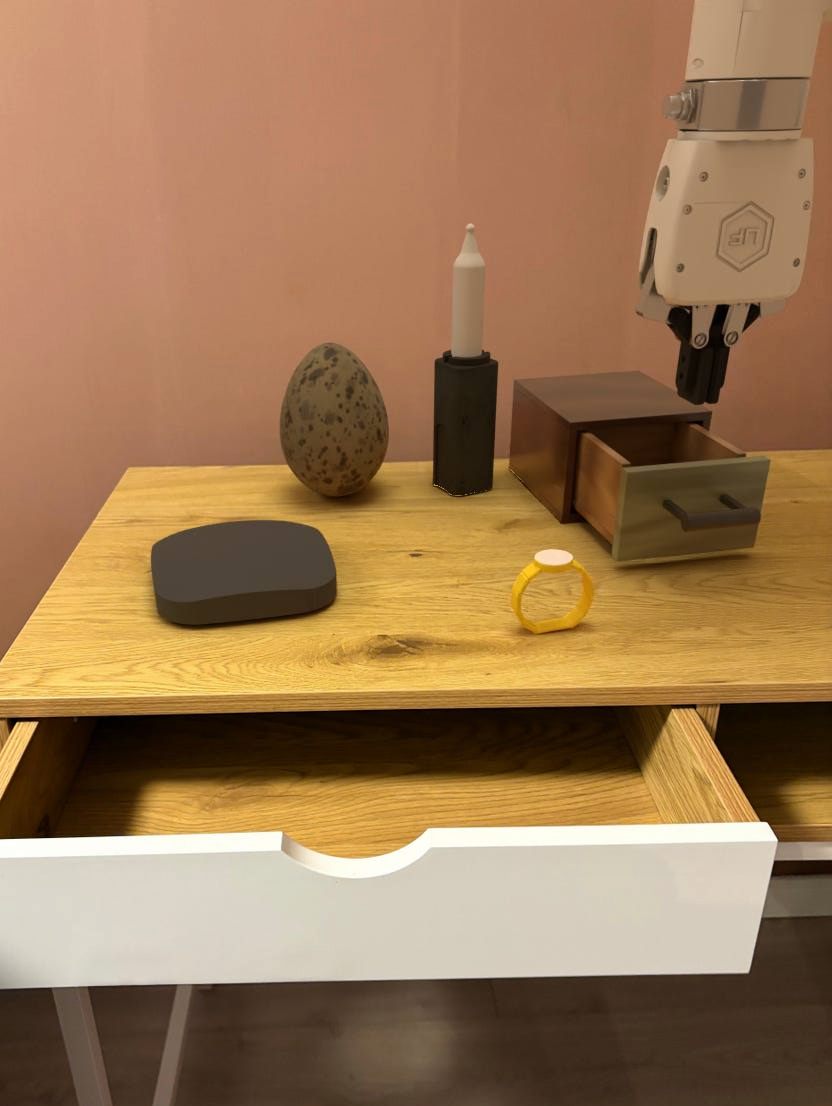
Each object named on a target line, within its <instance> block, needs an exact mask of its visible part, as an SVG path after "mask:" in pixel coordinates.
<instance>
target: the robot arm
mask: <svg viewBox="0 0 832 1106" xmlns="http://www.w3.org/2000/svg"><path fill="white" fill-rule="evenodd" d="M826 23H827V24H829V23H832V0H694V5H693V12H692V20H691V28H690V34H689V35H690V36H689V42H688V43H689V44H688V52H687V61H686V67H685V73H684V82H681V84H680V90H679V91H678V92H676V93H674V94H673V93H672V94H666V95H665V96H664V98H663V101H662V105H661V115H662V117H663V119H673V120H674V121H676V123H675V129H676V130H677V129H678V130H677V133H676V138H669V139H668V140H667V142H666V145H665V148H664V151H663V154H662V158H661V160H660V163H659V165H658V170H657V173H656V177H655V181H654V185H653V189H652V192H651V195H650V196H651V197H650V201H649V205H648V208H647V214H646V219H645V225H644V229H643V235H642V243H641V249H640V255H639V265H638V275H637V276H638V277H637V278H638V286H639V289H640V294H639V297H638V299H637V303H636V306H635V314H636V315H637V316H639V317H641V318H643V319H646V320H650V321H654V322H659V323H662V324H665V325H666V326H667V327H668V329H670V331H671V332H672V333H673V334H674V338H675V340H677V341H679V342H680V345H679V351H678V358H677V366H676V373H675V381H674V382H675V384H674V385H675V388H676V389H677V391H676V392H677V393H678V396H680V397H681V398H683V399H685V400H687V401H689V402H690V403H692V404H694V405H702V406H703V405H704V404H708V405H715V404H718V402H719V399H720V394H721V389H722V388H723V387H724V385H725V381H726V374H727V368H728V364H729V358H730V352H731V348H732V347H735V346H736V345H738V343H739V342H740V339H741V336H742V334H743V333H744V332H745V331H746V330H747V329H748V328H749V327H750V326H751V325H752V324H753V323H754V322H755V321H756V320H757V319H762V318H766V317H769V316H771V315H775V314H778V313H780V312H782V311H784V310H785V309H786V307H787V304H788V298H789V297H790V296H792V295H793V294H795V293H796V292H797V290H798V289H799V288H800V285H801V282H802V277H803V273H804V269H805V263H806V257H807V252H808V243H809V238H810V229H811V221H812V220H811V219H812V210H813V199H814V181H815V178H814V176H815V164H814V163H815V159H814V156H815V155H814V154H815V153H814V138H813V137H812V136H810V137H809V136H802V133H803V129H802V128H803V126H804V121H805V116H806V109H807V105H808V99H809V93H810V88H811V83H812V79H811V78H812V77H813V69H814V65H815V59H816V54H817V49H818V43H819V37H820V32H821V25H822V24H826ZM666 301H667V302H669V303H667V302H666ZM711 305H712V306H711ZM710 306H711V309H710Z"/></svg>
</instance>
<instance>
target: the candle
mask: <svg viewBox="0 0 832 1106" xmlns="http://www.w3.org/2000/svg"><path fill="white" fill-rule="evenodd" d="M475 230H476V226H475V224H473V223H468V224H467V225H466V226H465V231H466V234H465V237H464V240H463V243H462V247H461V250H460V253H459V254H458V256H457V257H456V259H455V260H454V262H453V266H452V268H453V269H452V305H451V307H452V308H451V348H450V349H447V350H445V351H443V352H442V357H438V358H437V357H436V359H434V369H433V371H434V373H433V374H434V375H433V376H434V378H433V432H432V433H433V435H432V436H433V439H432V440H433V441H432V442H433V444H432V445H433V447H432V485H433V484H435V485H438V486H440V487H442V488H444V489H445V490H447V491H448V493H450V494H452V495H465V494H470V493H474V492H475V493H476V492H480V491H485V490H489V489H491V488H492V487H493V488H494V467H495V466H494V465H495V444H496V442H495V441H496V422H497V402H498V379H499V361H498V360H496V359H494V358H491V352H490V351H485V349H483V337H484V336H483V332H484V329H483V328H484V309H485V307H484V306H485V285H486V284H485V283H486V281H485V280H486V277H485V276H486V262H485V260H484V258H483V257H482V255H481V253H480V252H479V248H478V243H477V239H476V235H475ZM493 488H492V489H493ZM492 489H491V490H492ZM489 491H490V490H489ZM485 492H486V491H485ZM448 493H447V494H448ZM480 493H481V492H480ZM476 494H477V493H476Z"/></svg>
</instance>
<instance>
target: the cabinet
mask: <svg viewBox="0 0 832 1106" xmlns="http://www.w3.org/2000/svg"><path fill="white" fill-rule="evenodd" d="M512 386H513V387H512V389H513V390H512V406H511V425H510V442H509V443H510V444H509V461H508V462H509V464H508V469H509V468H510V469H511V470H512V471H513V472H514V473H515V474H516V475H517V476H518V477H519V478H520V479H521V481H523V483H524V484H525V485H526V486H527V487H528V488H527V487H526V486H525V485H524V484H523V483H522V484H523V485H524V486H525V487H526V488H527V490H529V489H530V490H529V491H530V493H532V495H533V496H534V497H535V498H536V499H537V500H538V501H539V500H540V501H541V502H540V501H539V502H540V503H541V504H542V505H544V507H545V508H546V509H547V510H548V511H549V512H550V513H551V514H552V515H553V516H554V517H555V518H556V520H558V521H559V523H561V524H567V523H578V522H588V521H587V520H586V519H585V518H584V517H583V516H582V515H581V514H580V513H579V512H578V511H577V510H576V509H575V508H574V507H572V506H571V497H572V486H573V475H574V464H575V453H576V442H577V431H578V430H590V429H603V428H615V427H627V426H640V425H652V424H665V423H677V422H689V421H692V422H694V423H696V424H698V425H699V426H701V427H703V428H704V429H706V430H708V431H709V432H710V429H711V423H712V417H713V410H711V409H709V408H707V407H705V406H703V404H702V405H694V404H692V403H690V402H689V401H687V400H685V399H683V398H681V397H680V396H678V393H677V391H676V390H675V389H673V388H671V387H670V386H668V385H665V384H664V383H662V382H660V381H658V380H657V379H655V378H652V377H651V376H649V375H647V374H645V373H644V372H642V371H640V370H629V371H616V372H615V371H614V372H601V373H600V372H599V373H598V372H597V373H587V374H585V373H584V374H573V375H559V376H558V375H557V376H543V377H532V378H531V377H530V378H517V379H513V385H512ZM521 481H520V482H521Z"/></svg>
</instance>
